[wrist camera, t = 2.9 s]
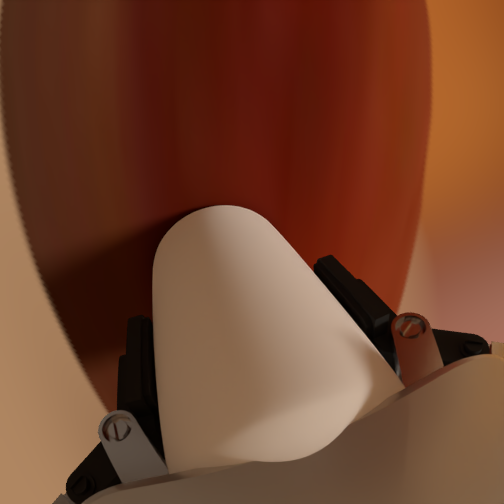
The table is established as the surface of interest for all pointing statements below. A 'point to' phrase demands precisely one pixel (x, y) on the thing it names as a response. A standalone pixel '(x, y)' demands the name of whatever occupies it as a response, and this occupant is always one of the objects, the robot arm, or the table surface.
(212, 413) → the can
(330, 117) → the table surface
